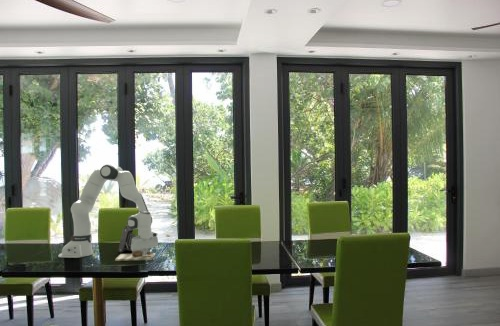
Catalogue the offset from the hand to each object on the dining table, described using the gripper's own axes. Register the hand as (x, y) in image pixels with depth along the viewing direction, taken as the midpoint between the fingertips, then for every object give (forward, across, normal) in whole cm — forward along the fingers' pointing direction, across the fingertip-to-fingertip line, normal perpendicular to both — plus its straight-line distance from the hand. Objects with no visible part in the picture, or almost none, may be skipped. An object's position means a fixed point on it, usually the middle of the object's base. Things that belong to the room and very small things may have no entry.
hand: (144, 255), depth 258 cm
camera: (+2, +8, +25) cm, 26 cm away
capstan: (+1, 0, +4) cm, 4 cm away
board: (+2, -2, +6) cm, 7 cm away
